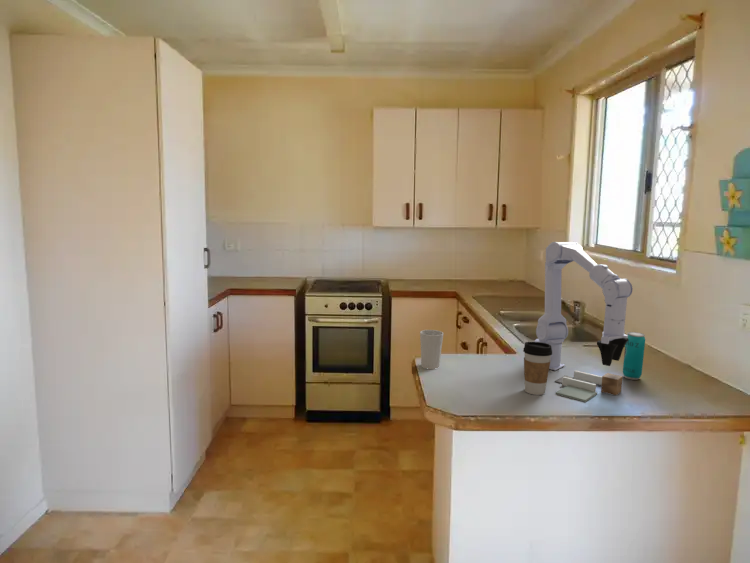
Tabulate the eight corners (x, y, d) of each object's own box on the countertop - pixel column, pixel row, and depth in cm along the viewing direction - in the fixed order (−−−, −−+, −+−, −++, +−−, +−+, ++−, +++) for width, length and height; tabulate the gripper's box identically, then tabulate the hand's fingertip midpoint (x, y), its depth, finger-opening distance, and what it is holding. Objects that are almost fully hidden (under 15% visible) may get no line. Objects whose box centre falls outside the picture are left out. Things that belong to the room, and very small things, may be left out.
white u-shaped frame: (553, 382, 173) (553, 375, 172) (566, 375, 180) (566, 368, 180) (594, 392, 164) (595, 385, 164) (605, 385, 171) (606, 377, 171)
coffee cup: (514, 388, 166) (518, 341, 164) (537, 385, 169) (540, 339, 167) (531, 397, 159) (535, 348, 156) (555, 394, 162) (559, 346, 159)
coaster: (555, 394, 162) (555, 392, 162) (567, 386, 169) (568, 385, 169) (585, 402, 156) (585, 400, 156) (597, 394, 163) (597, 392, 163)
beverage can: (624, 373, 183) (629, 330, 181) (643, 377, 180) (647, 333, 177) (620, 377, 179) (624, 333, 177) (638, 381, 175) (643, 336, 173)
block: (600, 391, 165) (602, 376, 165) (606, 388, 169) (607, 372, 168) (616, 395, 162) (617, 379, 162) (621, 391, 166) (622, 376, 165)
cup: (446, 368, 184) (447, 334, 182) (425, 371, 181) (426, 336, 179) (435, 362, 191) (436, 329, 190) (414, 364, 188) (416, 330, 187)
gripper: (620, 324, 155) (616, 370, 157) (636, 317, 165) (632, 360, 167) (595, 320, 159) (591, 365, 161) (612, 314, 170) (609, 355, 172)
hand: (610, 362), depth 165 cm, fingers open, 7 cm apart
